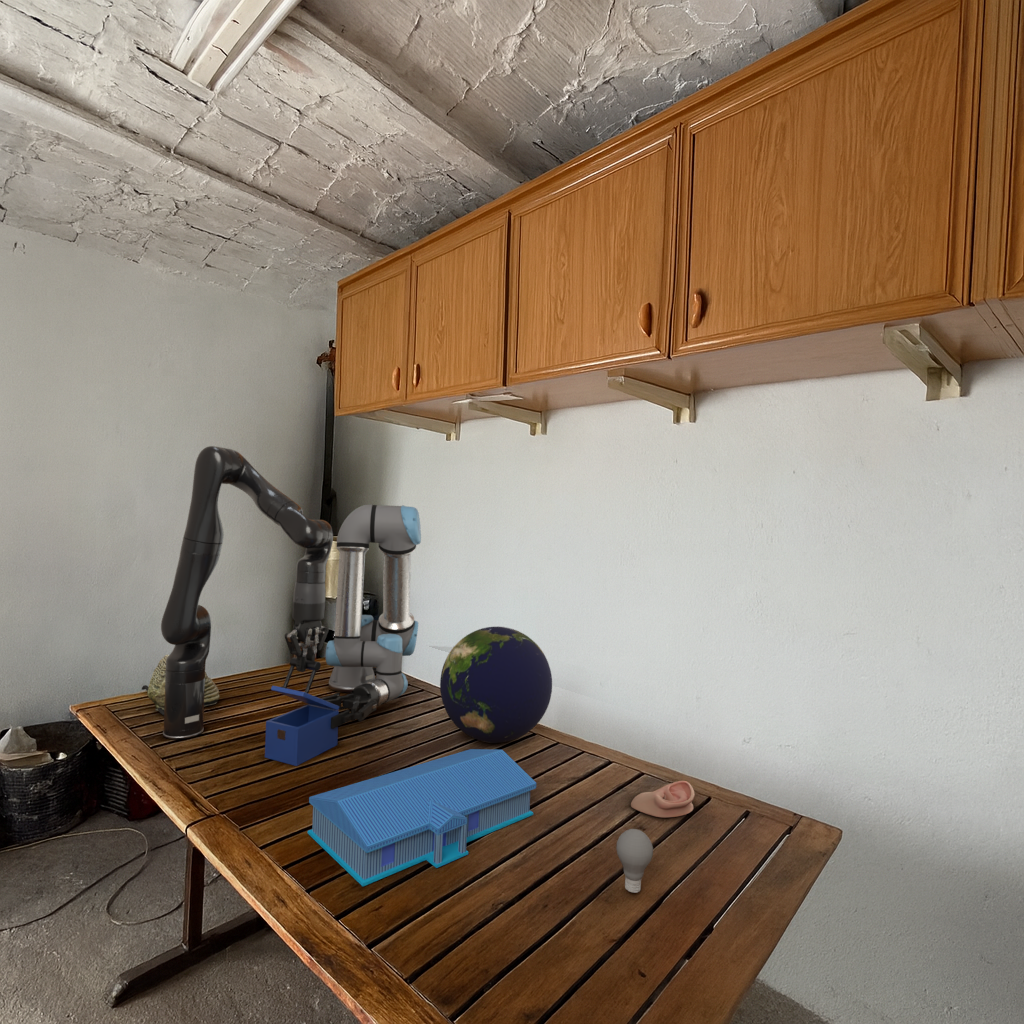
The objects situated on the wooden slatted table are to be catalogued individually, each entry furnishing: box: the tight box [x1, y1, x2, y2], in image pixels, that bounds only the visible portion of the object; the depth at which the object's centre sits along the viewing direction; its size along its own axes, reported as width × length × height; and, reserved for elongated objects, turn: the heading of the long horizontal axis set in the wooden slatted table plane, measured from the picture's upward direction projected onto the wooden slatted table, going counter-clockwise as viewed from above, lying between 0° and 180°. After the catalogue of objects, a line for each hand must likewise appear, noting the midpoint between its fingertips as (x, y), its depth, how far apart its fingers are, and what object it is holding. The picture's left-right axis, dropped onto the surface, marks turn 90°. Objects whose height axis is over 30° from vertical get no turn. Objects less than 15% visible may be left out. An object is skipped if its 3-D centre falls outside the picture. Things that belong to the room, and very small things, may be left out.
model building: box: [307, 748, 538, 887], centre depth 123 cm, size 39×24×10 cm, turn 132°
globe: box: [439, 625, 553, 744], centre depth 169 cm, size 30×30×30 cm
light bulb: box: [615, 828, 654, 894], centre depth 106 cm, size 6×6×10 cm
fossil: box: [147, 654, 221, 711], centre depth 185 cm, size 9×18×15 cm, turn 132°
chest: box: [264, 704, 340, 767], centre depth 157 cm, size 15×10×9 cm
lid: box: [270, 657, 339, 711], centre depth 159 cm, size 15×10×9 cm, turn 157°
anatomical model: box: [630, 780, 695, 818], centre depth 136 cm, size 13×4×12 cm
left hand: (305, 669), depth 156 cm, fingers closed on lid, 2 cm apart
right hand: (315, 719), depth 161 cm, fingers closed on chest, 10 cm apart
